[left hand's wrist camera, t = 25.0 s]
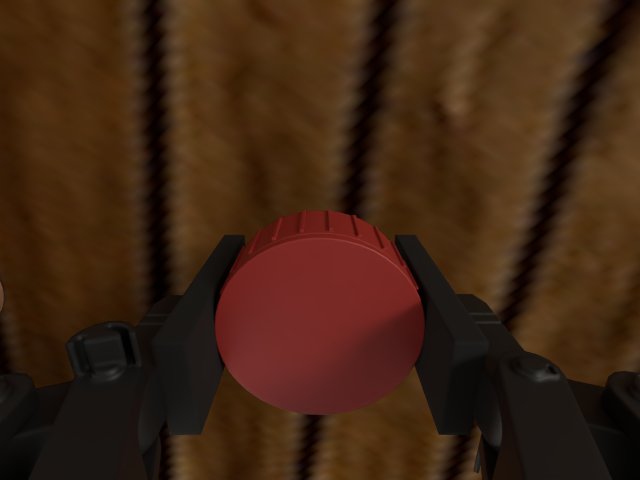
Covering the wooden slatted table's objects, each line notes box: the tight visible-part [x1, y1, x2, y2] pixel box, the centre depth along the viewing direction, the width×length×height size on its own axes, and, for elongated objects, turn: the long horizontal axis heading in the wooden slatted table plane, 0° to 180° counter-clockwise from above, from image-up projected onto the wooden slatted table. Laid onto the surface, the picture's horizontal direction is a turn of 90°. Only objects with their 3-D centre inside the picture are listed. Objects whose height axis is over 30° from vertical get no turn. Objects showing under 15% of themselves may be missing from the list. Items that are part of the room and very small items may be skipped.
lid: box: [214, 209, 425, 415], centre depth 11 cm, size 6×6×2 cm
